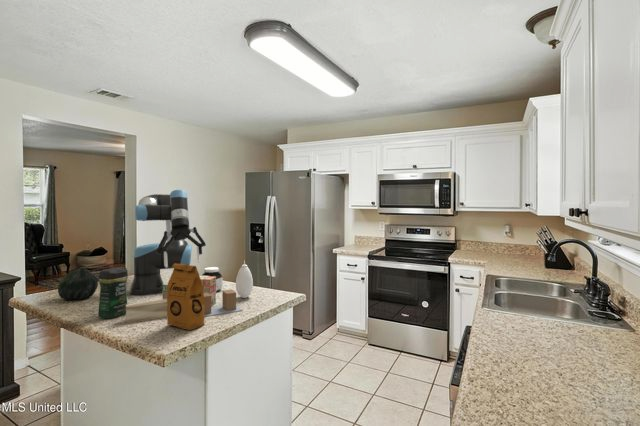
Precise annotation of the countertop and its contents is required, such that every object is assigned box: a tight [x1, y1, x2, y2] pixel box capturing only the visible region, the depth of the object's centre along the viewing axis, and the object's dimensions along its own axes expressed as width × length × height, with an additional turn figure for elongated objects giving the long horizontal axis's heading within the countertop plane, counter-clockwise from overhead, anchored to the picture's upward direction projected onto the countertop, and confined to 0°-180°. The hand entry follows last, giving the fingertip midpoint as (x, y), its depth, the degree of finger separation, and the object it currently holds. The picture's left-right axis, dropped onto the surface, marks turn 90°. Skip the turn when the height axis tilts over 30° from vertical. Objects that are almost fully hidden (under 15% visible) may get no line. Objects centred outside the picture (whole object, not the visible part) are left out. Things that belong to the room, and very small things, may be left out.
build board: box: [204, 289, 243, 318], centre depth 136 cm, size 10×18×7 cm, turn 121°
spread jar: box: [201, 266, 223, 293], centre depth 164 cm, size 12×11×12 cm
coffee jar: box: [97, 266, 129, 320], centre depth 129 cm, size 10×8×19 cm
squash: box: [57, 267, 99, 301], centre depth 152 cm, size 14×15×15 cm
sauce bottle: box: [235, 259, 254, 299], centre depth 155 cm, size 8×8×18 cm
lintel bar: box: [125, 299, 167, 324], centre depth 128 cm, size 4×18×6 cm, turn 123°
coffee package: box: [166, 264, 205, 331], centre depth 119 cm, size 10×12×22 cm
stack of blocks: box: [162, 275, 217, 307], centre depth 144 cm, size 21×6×12 cm, turn 84°
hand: (182, 264), depth 145 cm, fingers open, 13 cm apart
